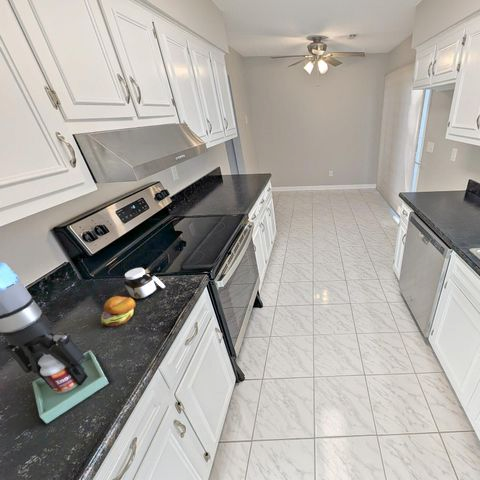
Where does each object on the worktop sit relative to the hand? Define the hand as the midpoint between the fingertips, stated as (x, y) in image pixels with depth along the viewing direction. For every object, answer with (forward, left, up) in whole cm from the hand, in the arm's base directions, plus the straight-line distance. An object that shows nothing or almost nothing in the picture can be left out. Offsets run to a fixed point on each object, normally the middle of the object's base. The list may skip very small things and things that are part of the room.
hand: (70, 382), depth 72 cm
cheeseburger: (-21, +18, -2) cm, 28 cm away
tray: (0, 0, -2) cm, 2 cm away
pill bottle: (0, 0, -1) cm, 1 cm away
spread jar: (-29, +31, -2) cm, 42 cm away
